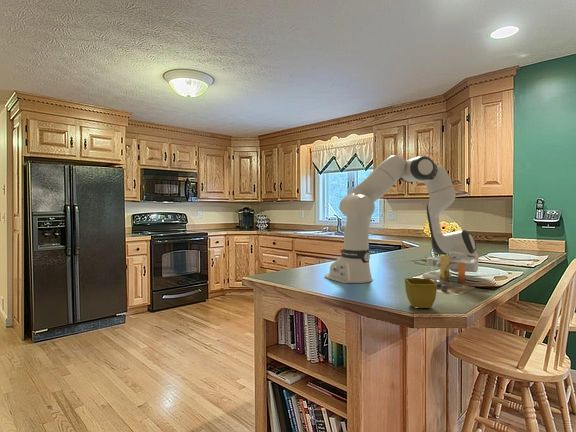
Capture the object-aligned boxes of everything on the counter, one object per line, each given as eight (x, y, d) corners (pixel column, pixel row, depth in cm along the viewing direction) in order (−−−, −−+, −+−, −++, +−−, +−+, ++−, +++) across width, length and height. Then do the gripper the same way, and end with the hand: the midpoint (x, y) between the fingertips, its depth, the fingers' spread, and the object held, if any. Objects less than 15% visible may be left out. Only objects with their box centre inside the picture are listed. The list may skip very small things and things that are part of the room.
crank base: (412, 288, 146) (412, 281, 146) (431, 281, 158) (431, 274, 158) (457, 296, 133) (457, 289, 133) (475, 288, 145) (475, 281, 145)
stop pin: (438, 281, 151) (438, 255, 151) (442, 279, 154) (442, 254, 153) (446, 282, 148) (447, 256, 148) (450, 281, 151) (450, 255, 150)
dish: (422, 278, 164) (422, 273, 164) (431, 275, 170) (431, 270, 170) (442, 281, 157) (442, 276, 157) (450, 278, 163) (451, 273, 163)
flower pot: (429, 303, 126) (430, 278, 125) (437, 311, 117) (437, 284, 117) (404, 303, 127) (404, 278, 126) (410, 311, 118) (410, 284, 118)
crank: (433, 285, 144) (433, 262, 143) (433, 282, 148) (433, 260, 148) (465, 287, 140) (465, 264, 139) (464, 285, 144) (464, 262, 143)
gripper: (434, 252, 167) (420, 256, 158) (481, 257, 152) (469, 261, 142) (434, 265, 167) (420, 270, 158) (481, 272, 152) (468, 277, 143)
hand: (443, 266), depth 150 cm, fingers closed on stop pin, 4 cm apart
